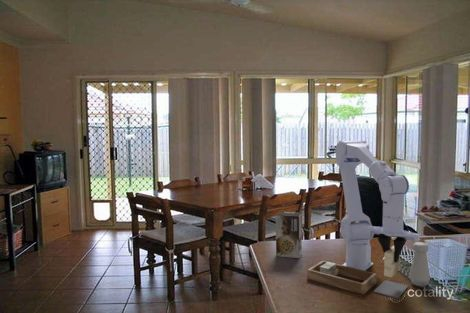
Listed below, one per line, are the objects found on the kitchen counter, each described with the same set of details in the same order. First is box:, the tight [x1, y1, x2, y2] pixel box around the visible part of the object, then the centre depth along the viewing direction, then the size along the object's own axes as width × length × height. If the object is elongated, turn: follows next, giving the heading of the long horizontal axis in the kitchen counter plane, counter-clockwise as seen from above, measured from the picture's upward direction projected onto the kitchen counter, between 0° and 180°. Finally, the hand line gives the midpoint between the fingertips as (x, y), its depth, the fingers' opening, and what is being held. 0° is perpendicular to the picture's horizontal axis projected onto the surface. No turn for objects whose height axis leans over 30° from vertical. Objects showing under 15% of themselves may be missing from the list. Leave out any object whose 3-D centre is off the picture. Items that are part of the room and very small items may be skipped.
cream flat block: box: [383, 245, 401, 278], centre depth 117 cm, size 8×2×7 cm, turn 141°
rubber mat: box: [373, 279, 409, 300], centre depth 118 cm, size 10×7×1 cm
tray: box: [306, 260, 378, 295], centre depth 125 cm, size 11×19×3 cm, turn 50°
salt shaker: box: [408, 241, 431, 288], centre depth 121 cm, size 6×6×13 cm
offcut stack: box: [320, 261, 339, 277], centre depth 129 cm, size 7×4×4 cm, turn 140°
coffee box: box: [275, 210, 303, 259], centre depth 149 cm, size 9×6×16 cm
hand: (391, 260), depth 117 cm, fingers closed on cream flat block, 2 cm apart
